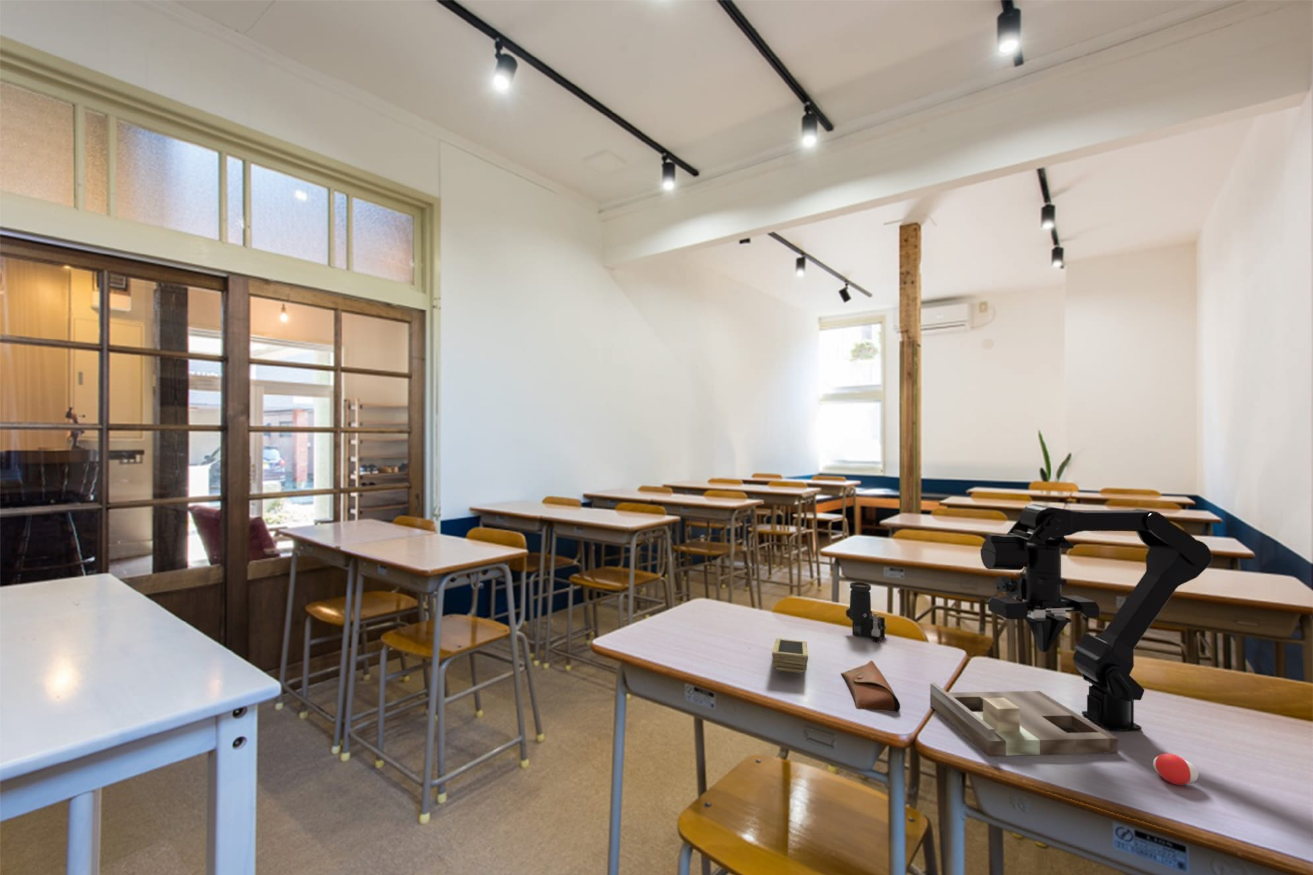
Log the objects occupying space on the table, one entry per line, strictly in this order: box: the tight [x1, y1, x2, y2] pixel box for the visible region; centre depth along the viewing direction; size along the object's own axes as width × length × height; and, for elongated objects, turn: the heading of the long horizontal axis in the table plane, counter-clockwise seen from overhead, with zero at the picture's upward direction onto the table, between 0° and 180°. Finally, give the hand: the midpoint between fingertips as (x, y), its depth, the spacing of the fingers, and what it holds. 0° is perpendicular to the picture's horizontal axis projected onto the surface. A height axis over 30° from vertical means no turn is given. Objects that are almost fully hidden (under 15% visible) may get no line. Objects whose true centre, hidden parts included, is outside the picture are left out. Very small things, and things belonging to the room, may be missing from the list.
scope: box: [845, 581, 887, 643], centre depth 152 cm, size 8×14×10 cm
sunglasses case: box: [840, 660, 901, 713], centre depth 118 cm, size 18×7×7 cm
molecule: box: [1152, 753, 1199, 786], centre depth 87 cm, size 5×5×4 cm
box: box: [771, 638, 809, 674], centre depth 132 cm, size 8×22×5 cm, turn 167°
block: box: [983, 698, 1020, 732], centre depth 99 cm, size 4×4×4 cm
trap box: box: [929, 682, 1119, 757], centre depth 103 cm, size 23×18×4 cm
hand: (1043, 651), depth 106 cm, fingers closed
